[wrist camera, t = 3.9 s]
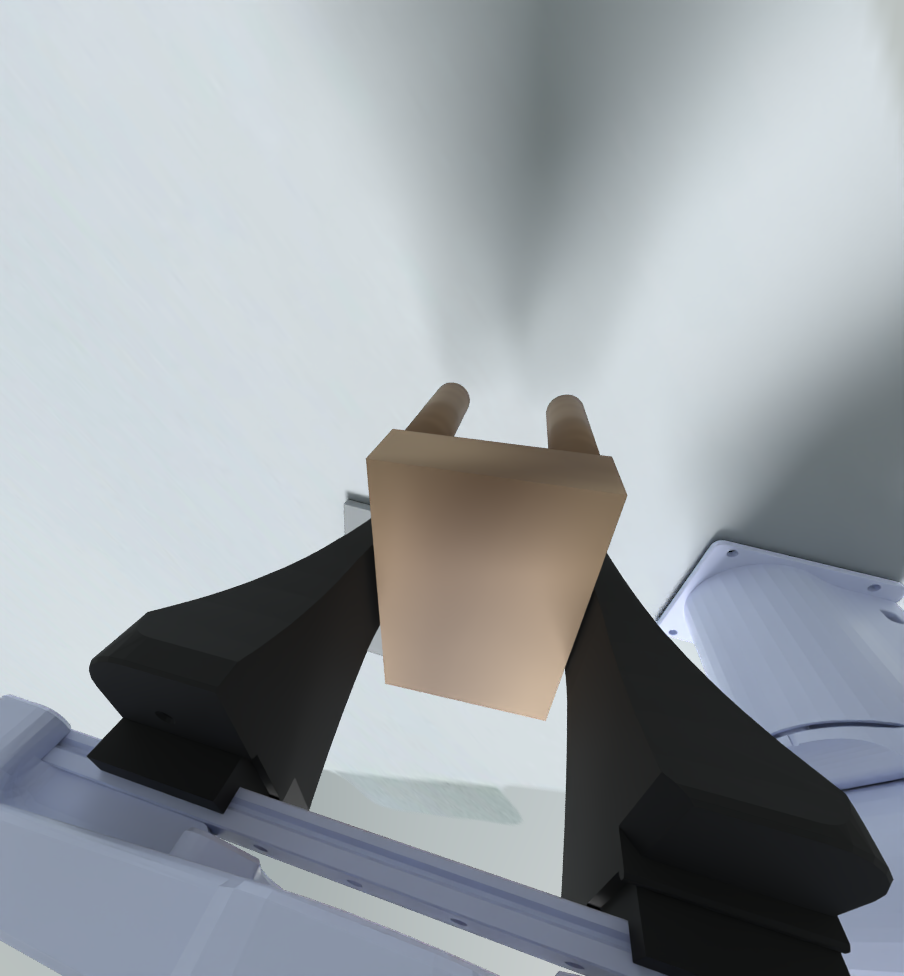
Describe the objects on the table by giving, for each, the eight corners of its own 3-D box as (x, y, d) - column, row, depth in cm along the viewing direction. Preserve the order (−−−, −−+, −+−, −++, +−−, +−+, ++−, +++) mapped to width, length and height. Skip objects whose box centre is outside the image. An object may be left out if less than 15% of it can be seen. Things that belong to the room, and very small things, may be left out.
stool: (588, 396, 12) (627, 495, 7) (542, 576, 16) (545, 720, 11) (436, 380, 12) (365, 458, 7) (431, 557, 16) (385, 683, 11)
